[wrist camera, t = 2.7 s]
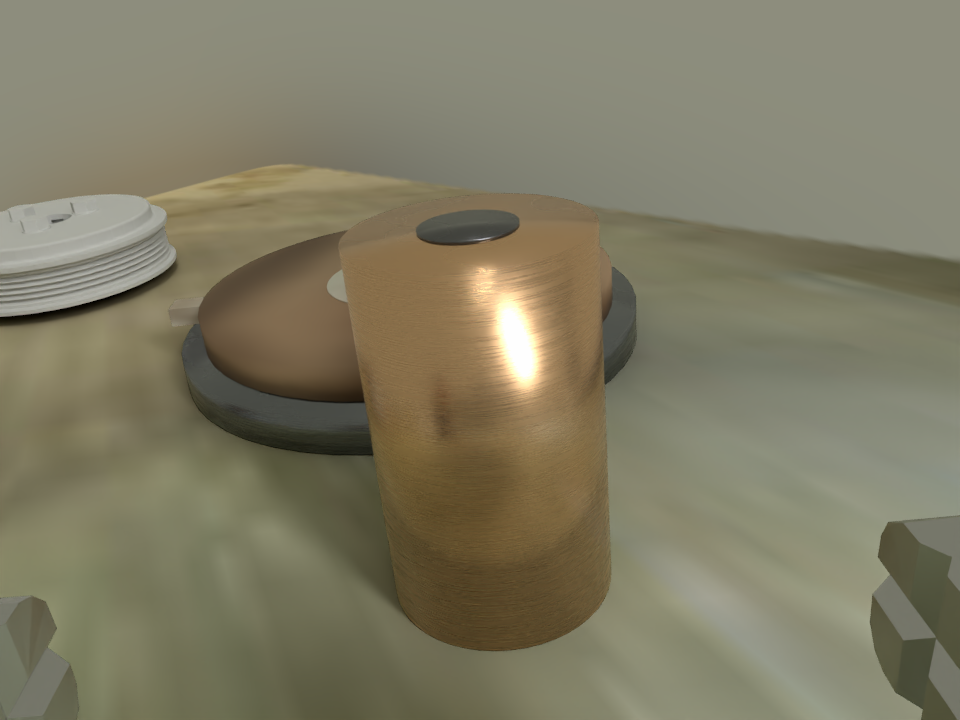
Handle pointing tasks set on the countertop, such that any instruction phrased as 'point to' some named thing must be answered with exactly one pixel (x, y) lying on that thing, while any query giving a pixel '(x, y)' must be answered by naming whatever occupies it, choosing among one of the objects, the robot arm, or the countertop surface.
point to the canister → (486, 411)
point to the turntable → (292, 323)
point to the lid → (79, 251)
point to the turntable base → (344, 422)
